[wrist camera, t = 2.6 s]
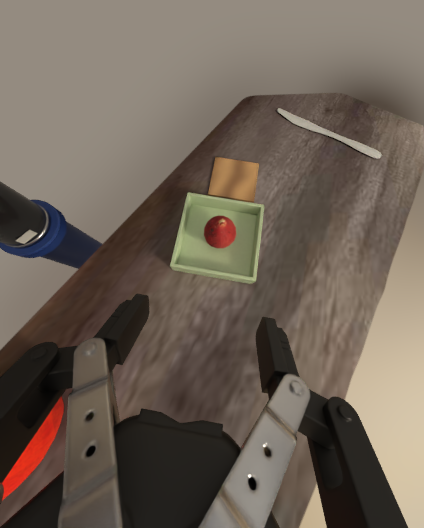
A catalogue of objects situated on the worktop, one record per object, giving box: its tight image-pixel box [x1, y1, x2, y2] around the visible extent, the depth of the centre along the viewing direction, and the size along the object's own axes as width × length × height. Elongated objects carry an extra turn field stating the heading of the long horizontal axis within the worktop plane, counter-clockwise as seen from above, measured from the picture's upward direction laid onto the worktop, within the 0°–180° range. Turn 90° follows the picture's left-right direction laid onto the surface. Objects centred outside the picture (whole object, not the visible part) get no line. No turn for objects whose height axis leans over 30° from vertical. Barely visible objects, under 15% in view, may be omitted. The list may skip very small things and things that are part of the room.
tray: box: [170, 192, 264, 284], centre depth 34 cm, size 15×15×3 cm
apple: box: [2, 396, 64, 500], centre depth 22 cm, size 12×12×13 cm
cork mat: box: [208, 157, 259, 203], centre depth 40 cm, size 10×10×1 cm
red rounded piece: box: [204, 215, 236, 248], centre depth 32 cm, size 6×6×8 cm
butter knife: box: [277, 108, 381, 158], centre depth 43 cm, size 1×27×3 cm
